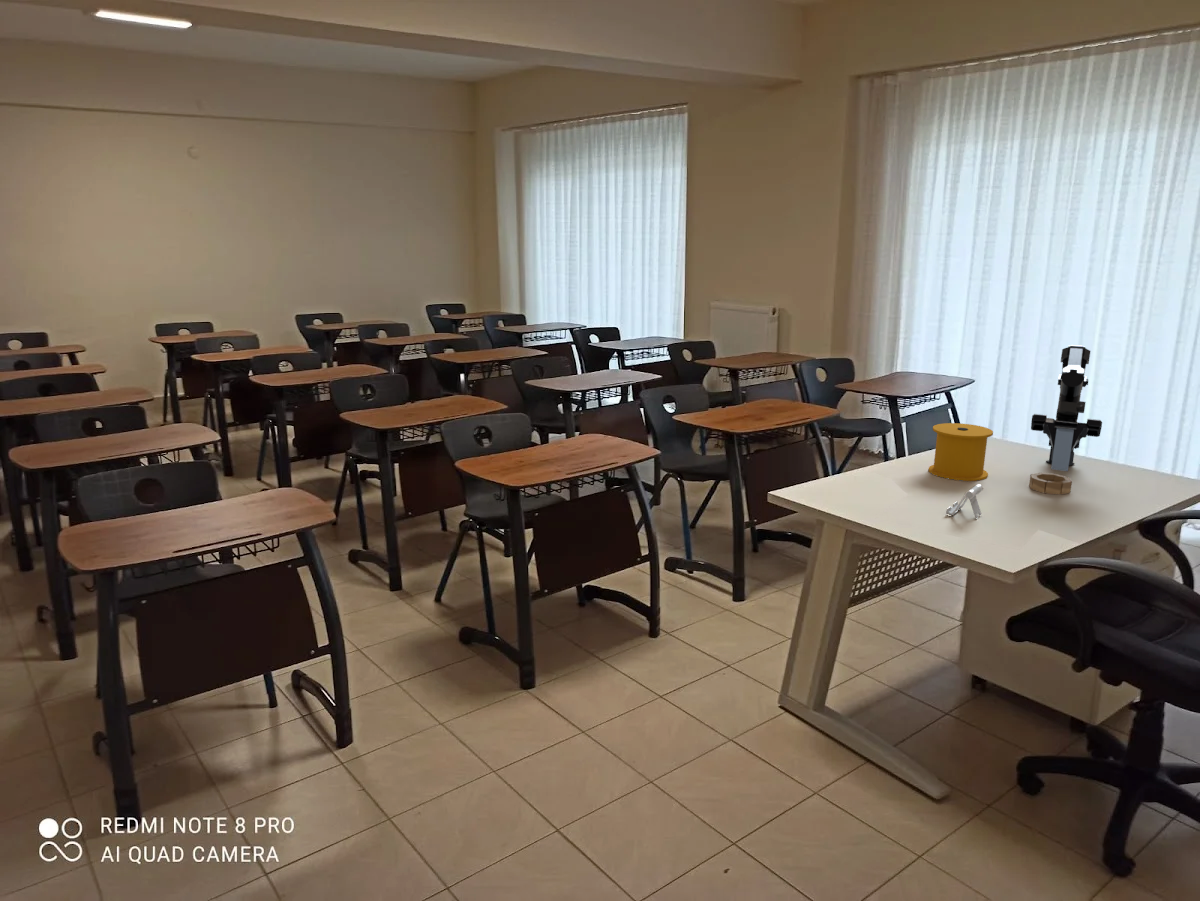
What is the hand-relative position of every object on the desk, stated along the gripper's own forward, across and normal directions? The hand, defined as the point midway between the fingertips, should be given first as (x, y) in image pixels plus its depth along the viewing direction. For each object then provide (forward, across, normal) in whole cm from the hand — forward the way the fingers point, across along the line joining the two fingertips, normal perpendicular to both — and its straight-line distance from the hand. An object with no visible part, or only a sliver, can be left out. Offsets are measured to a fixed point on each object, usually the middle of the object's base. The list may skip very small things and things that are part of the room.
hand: (1062, 448), depth 254 cm
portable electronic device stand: (+36, -22, -17) cm, 45 cm away
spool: (+5, -29, +14) cm, 33 cm away
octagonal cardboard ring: (+8, -2, +10) cm, 14 cm away
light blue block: (+4, 0, +6) cm, 7 cm away
